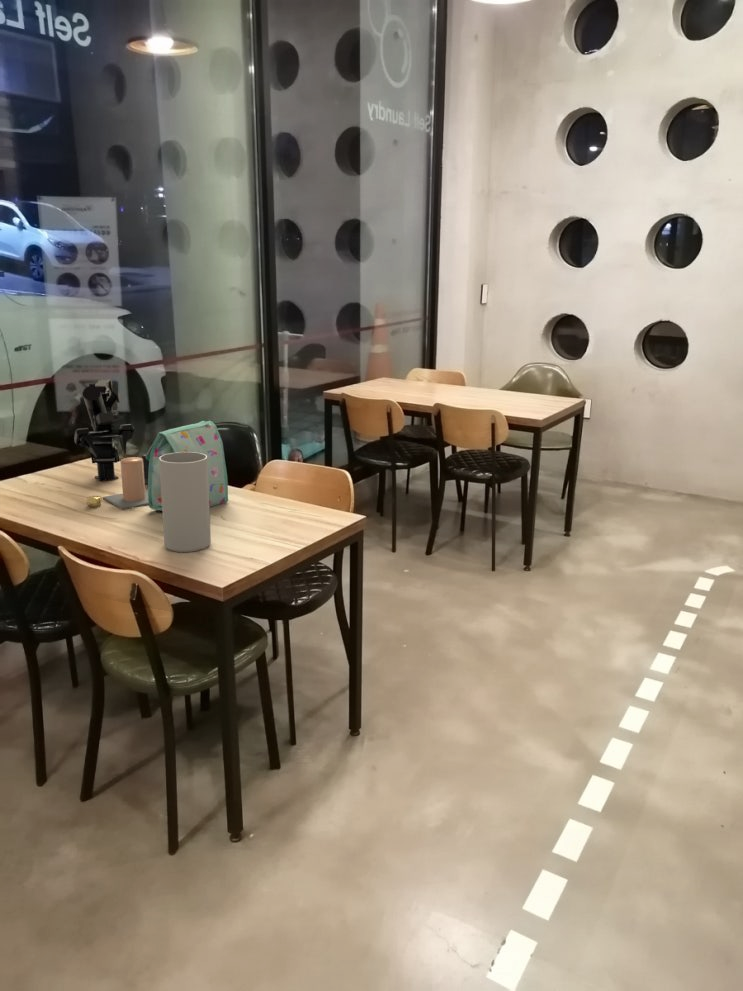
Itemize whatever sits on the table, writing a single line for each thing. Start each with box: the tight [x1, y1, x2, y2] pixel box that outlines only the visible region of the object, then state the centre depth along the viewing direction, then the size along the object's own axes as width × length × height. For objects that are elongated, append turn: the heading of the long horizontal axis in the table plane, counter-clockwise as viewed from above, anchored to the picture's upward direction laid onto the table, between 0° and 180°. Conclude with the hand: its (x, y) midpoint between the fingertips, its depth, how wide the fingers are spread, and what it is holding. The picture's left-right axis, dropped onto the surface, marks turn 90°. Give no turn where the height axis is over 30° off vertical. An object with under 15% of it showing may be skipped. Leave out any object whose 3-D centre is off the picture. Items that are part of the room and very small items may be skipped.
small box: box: [141, 452, 149, 485], centre depth 273 cm, size 11×6×10 cm, turn 171°
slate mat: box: [102, 488, 149, 511], centre depth 252 cm, size 15×15×1 cm
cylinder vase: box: [159, 452, 212, 553], centre depth 209 cm, size 12×12×25 cm
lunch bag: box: [146, 420, 229, 511], centre depth 243 cm, size 23×16×27 cm
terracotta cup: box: [120, 456, 146, 501], centre depth 250 cm, size 7×7×13 cm
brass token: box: [86, 495, 102, 509], centre depth 245 cm, size 4×4×3 cm
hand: (111, 455), depth 254 cm, fingers open, 9 cm apart
